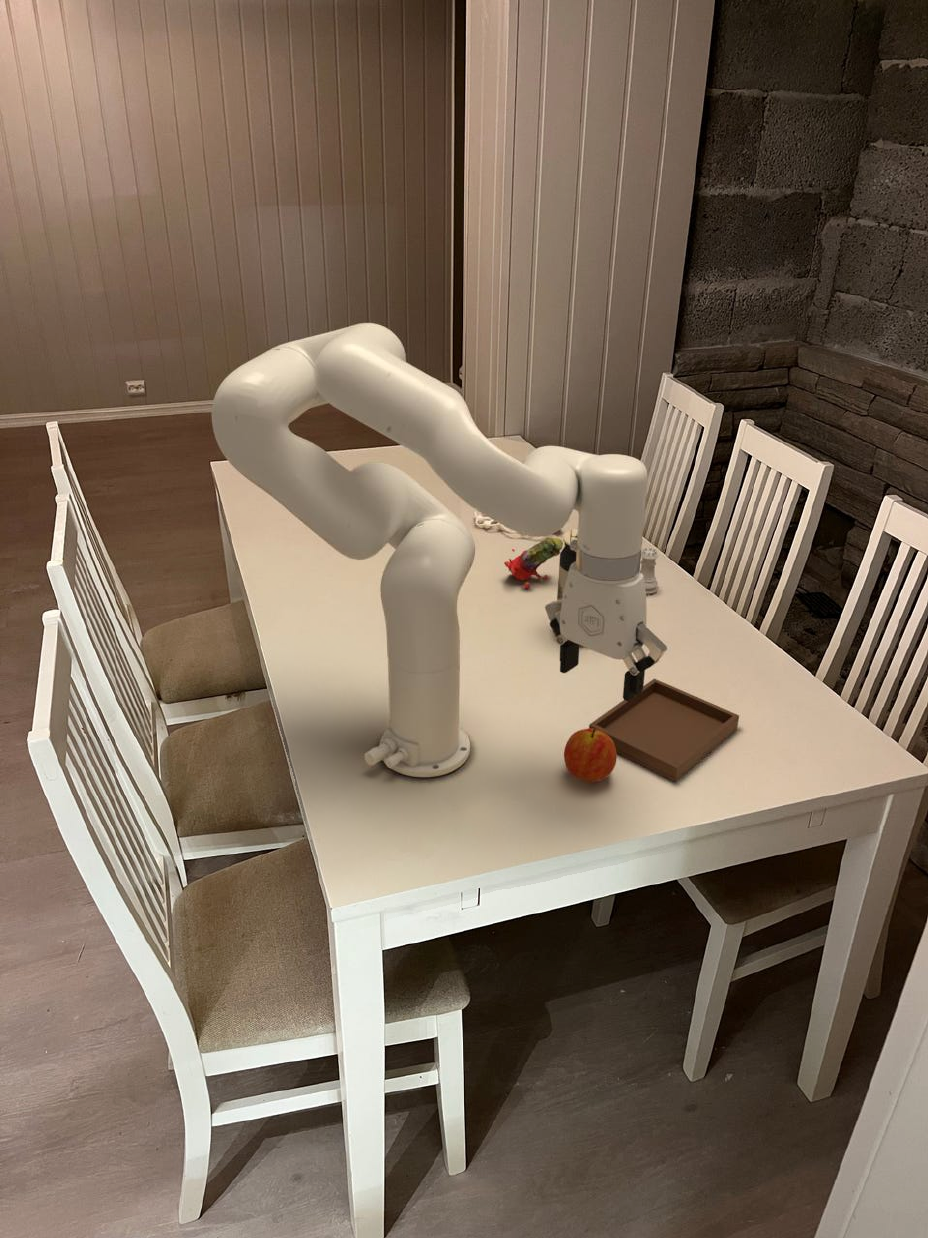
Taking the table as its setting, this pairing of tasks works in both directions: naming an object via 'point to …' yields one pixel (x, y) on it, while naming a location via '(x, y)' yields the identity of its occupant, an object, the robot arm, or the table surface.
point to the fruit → (590, 755)
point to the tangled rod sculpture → (489, 522)
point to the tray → (666, 728)
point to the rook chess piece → (649, 570)
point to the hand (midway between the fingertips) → (599, 682)
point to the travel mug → (566, 560)
